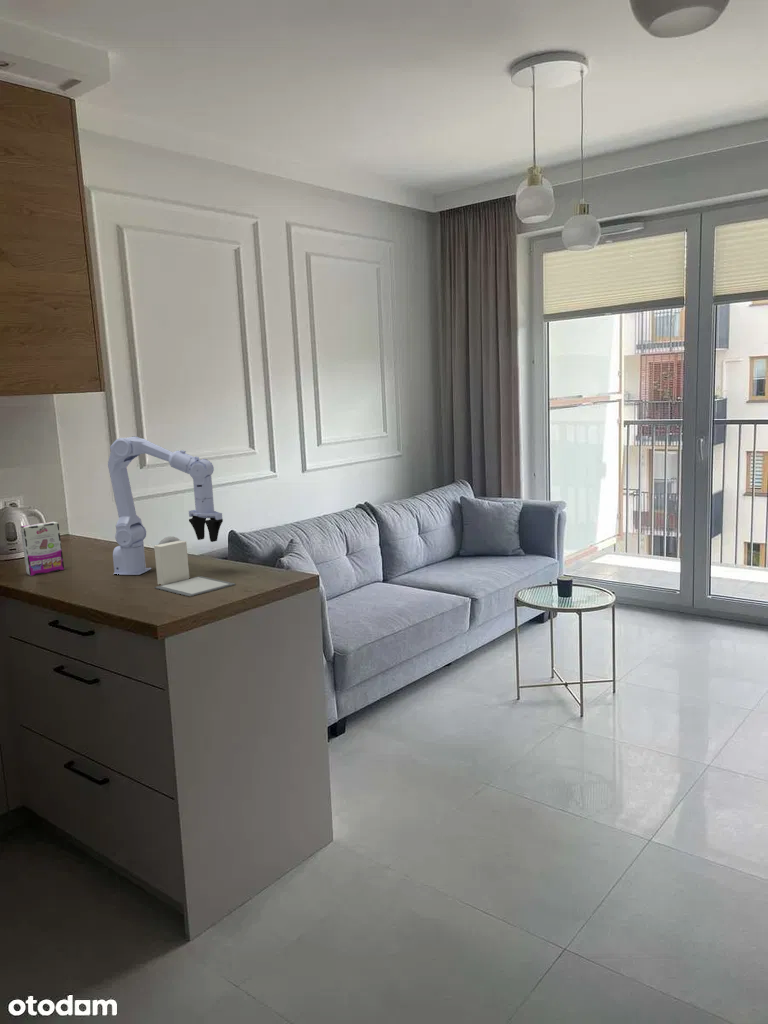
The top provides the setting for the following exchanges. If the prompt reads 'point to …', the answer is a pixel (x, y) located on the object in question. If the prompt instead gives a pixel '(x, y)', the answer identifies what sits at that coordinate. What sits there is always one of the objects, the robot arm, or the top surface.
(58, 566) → the candy bar box
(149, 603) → the top surface
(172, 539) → the donut
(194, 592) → the mat
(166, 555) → the card box
